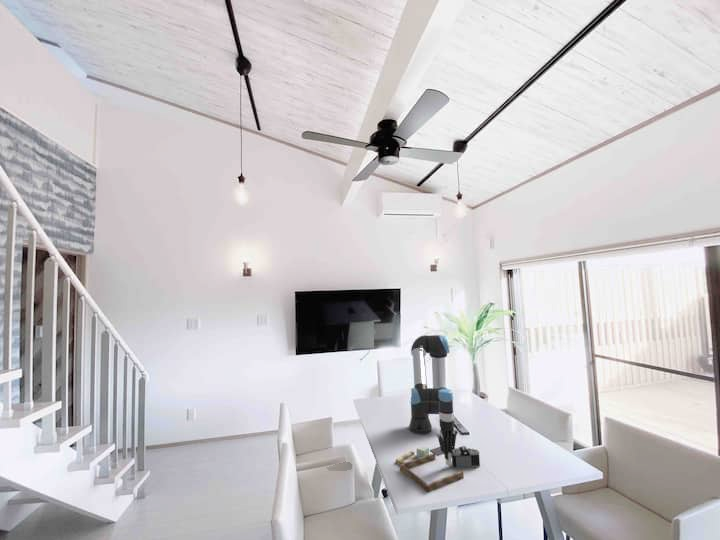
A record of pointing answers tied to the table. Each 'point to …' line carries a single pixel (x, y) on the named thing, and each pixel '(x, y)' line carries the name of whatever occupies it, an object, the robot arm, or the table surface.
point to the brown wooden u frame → (420, 482)
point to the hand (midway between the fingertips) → (448, 464)
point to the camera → (465, 457)
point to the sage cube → (422, 451)
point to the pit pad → (437, 451)
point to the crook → (404, 458)
